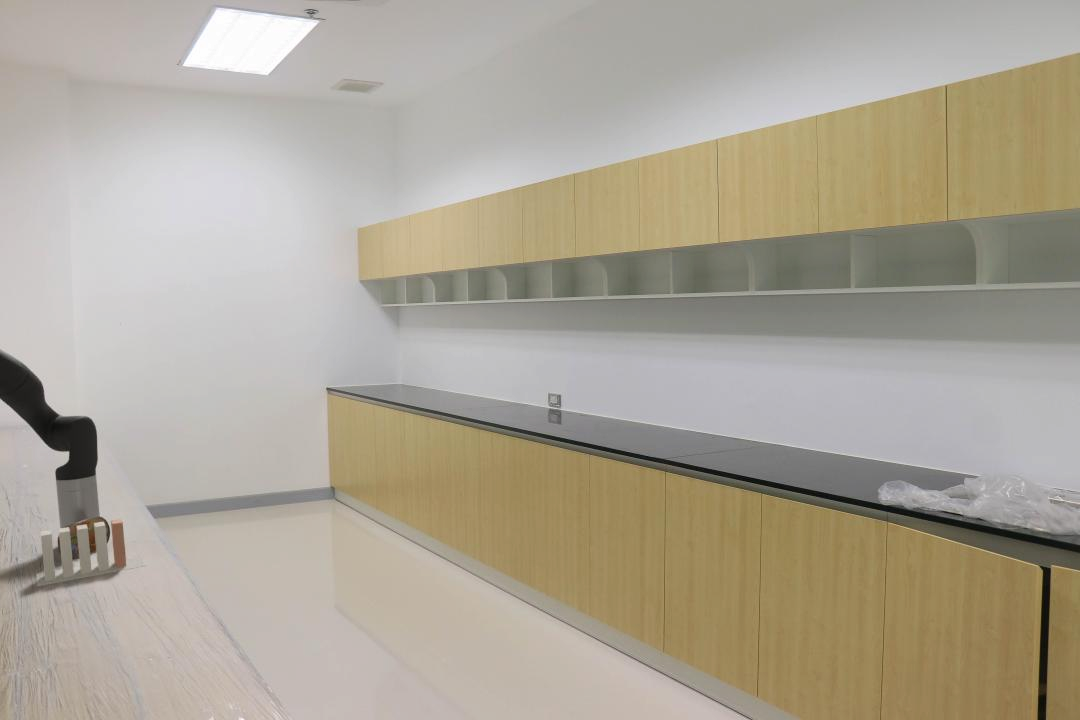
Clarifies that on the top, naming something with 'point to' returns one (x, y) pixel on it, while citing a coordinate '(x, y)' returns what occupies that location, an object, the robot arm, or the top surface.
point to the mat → (130, 563)
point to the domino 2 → (66, 552)
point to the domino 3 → (84, 549)
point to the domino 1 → (48, 555)
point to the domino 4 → (101, 546)
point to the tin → (91, 534)
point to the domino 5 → (118, 542)
